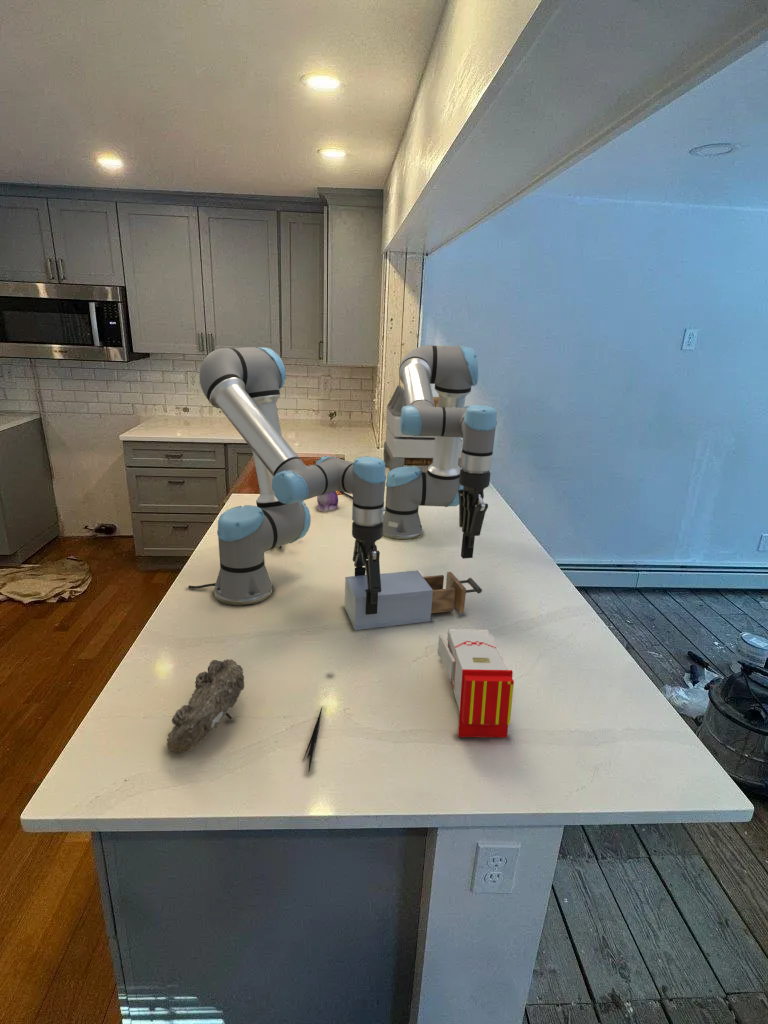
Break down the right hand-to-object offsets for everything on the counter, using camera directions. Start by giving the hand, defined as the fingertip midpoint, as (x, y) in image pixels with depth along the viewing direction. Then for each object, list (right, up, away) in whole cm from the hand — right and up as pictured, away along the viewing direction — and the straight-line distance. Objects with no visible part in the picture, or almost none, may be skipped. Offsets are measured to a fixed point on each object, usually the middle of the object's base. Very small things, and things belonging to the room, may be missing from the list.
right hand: (466, 556), depth 148 cm
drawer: (-8, -13, +2) cm, 16 cm away
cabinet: (-21, -15, -1) cm, 26 cm away
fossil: (-54, -27, -40) cm, 73 cm away
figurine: (-44, +13, +74) cm, 87 cm away
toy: (-4, -26, -29) cm, 39 cm away
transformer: (-4, +31, +127) cm, 131 cm away
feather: (-34, -28, -39) cm, 59 cm away
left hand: (-26, -11, -4) cm, 29 cm away
